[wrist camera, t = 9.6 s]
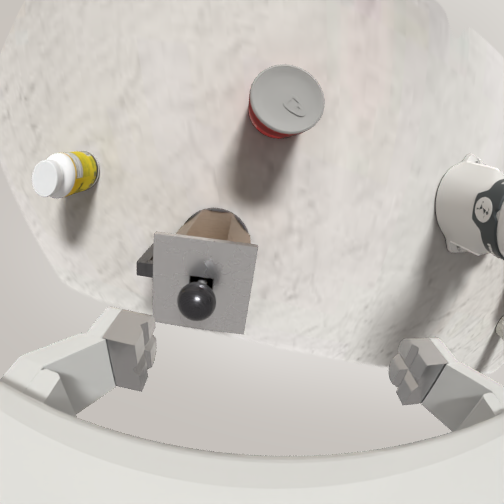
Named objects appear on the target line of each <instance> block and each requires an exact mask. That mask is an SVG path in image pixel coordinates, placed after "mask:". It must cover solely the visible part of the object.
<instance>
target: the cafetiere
mask: <svg viewBox="0 0 504 504" xmlns="http://www.w3.org/2000/svg"><path fill="white" fill-rule="evenodd" d="M257 251H258V245H256V244H251V243H250V235H249V233H248V230H247V228H246V226H245V225H244V223H243V222H242V221H241V219H240V218H239V217H237V216H236V215H235V214H233V213H232V212H230V211H227V210H224V209H220V208H208V209H203V210H201V211H198V212H197V213H195V214H193V215H192V216H191V217H190V218H189V219H188V220H187V221H186V223H185V224H184V225H183V226H182V227H181V228H180V229H179V230H178V232H177V233H176V234H172V233H165V232H157V231H156V232H155V233H154V243H153V244H152V246H151V247H150V248H149V249H148V250H147V251H146V252H145V253H144V254H143V255H142V257H141V258H140V259H139V260H138V261H137V275H140V276H146V277H152V278H153V316H154V318H155V322H160V323H165V324H171V325H178V326H184V327H191V328H197V329H205V330H212V331H220V332H228V333H236V334H244V329H245V323H246V317H247V311H248V305H249V299H250V293H251V287H252V281H253V275H254V269H255V263H256V257H257ZM199 277H204V278H208V282H207V285H208V286H209V287H210V288H211V289H212V290H213V292H214V294H215V297H216V307H215V310H214V312H213V313H212V315H211V316H210V317H208V318H207V319H205V320H202V321H192V320H189V319H187V318H186V317H184V316H183V315H182V314H181V312H180V311H179V309H178V305H177V297H178V294H179V292H180V290H181V289H182V288H183V287H184V286H185V285H187V284H189V283H192V282H198V279H199Z"/></svg>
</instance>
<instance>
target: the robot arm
mask: <svg viewBox="0 0 504 504" xmlns="http://www.w3.org/2000/svg"><path fill="white" fill-rule="evenodd" d="M475 162H476V163H475ZM436 216H437V221H438V224H439V226H440V229H441V230H442V232H443V234H444V235H445V238H446V244H447V249H448V251H450V252H452V253H458V252H471V253H473V254H475V255H478V256H480V255H481V254H488V253H492V254H493V255H494V256H496V257H498V258H501V259H503V260H504V173H503V172H502V171H500V170H499V169H498V168H495V167H491V166H487V165H486V164H485V163H484V162H483V161H482V160H480V159H479V158H478V157H477V156H476V155H475V154H472V153H469V154H467V156H466V157H465V158H464V160H463V161H462V162H461V163H459V164H457V165H455V166H453V167H452V168H450V169H449V170H448V171H447V173H446V174H445V175H444V177H443V179H442V181H441V183H440V185H439V188H438V192H437V197H436ZM154 329H155V318H154V316H153V315H148V314H143V313H138V312H133V311H129V310H123V309H120V308H115V307H107V308H106V309H105V310H104V312H103V313H102V314H101V315H100V316H99V318H98V319H97V320H96V322H95V323H94V324H93V325H92V326H91V328H90V329H89V330H88V331H87V333H86V334H84V333H80V334H77V335H75V336H72V337H69V338H67V339H64V340H62V341H59V342H56V343H54V344H51V345H48V346H46V347H43V348H40V349H38V350H35V351H32V352H30V353H27V354H24V355H22V356H20V357H19V358H18V359H17V360H16V361H15V363H14V364H13V365H12V366H11V367H10V369H9V370H8V371H7V372H6V373H5V374H4V376H3V377H2V378H1V379H0V504H504V386H503V385H501V384H499V383H498V382H496V381H494V380H492V379H490V378H489V377H487V376H485V375H483V374H482V373H480V372H478V371H476V370H475V369H473V368H471V367H469V366H468V365H466V364H464V363H462V362H458V361H457V359H456V358H455V357H454V356H453V354H452V353H451V352H450V351H449V349H448V348H447V347H446V346H445V344H444V343H443V342H442V341H441V340H440V338H437V337H428V338H407V339H403V340H402V341H401V342H400V344H399V346H398V352H399V353H398V354H397V355H396V356H395V357H393V359H392V361H391V363H390V365H389V378H390V380H391V382H392V384H394V385H395V386H396V387H398V388H397V391H396V393H397V395H398V396H399V398H400V400H401V402H402V405H409V404H418V403H422V405H423V406H424V407H425V408H426V409H427V410H428V411H430V412H431V413H432V414H433V415H434V416H435V417H436V418H438V419H439V420H440V421H441V422H442V423H443V424H444V425H445V426H447V427H448V428H449V429H450V430H451V431H452V432H451V433H447V434H444V435H440V436H437V437H433V438H429V439H425V440H421V441H417V442H413V443H408V444H404V445H399V446H394V447H388V448H382V449H376V450H369V451H362V452H354V453H344V454H332V455H316V456H261V455H260V456H259V455H244V454H232V453H222V452H214V451H205V450H199V449H193V448H186V447H180V446H175V445H170V444H165V443H160V442H156V441H152V440H147V439H143V438H140V437H136V436H132V435H128V434H125V433H121V432H118V431H114V430H111V429H108V428H105V427H102V426H99V425H96V424H93V423H90V422H88V421H85V420H82V419H79V418H77V416H76V414H77V413H79V412H80V411H82V410H83V409H85V408H86V407H88V406H89V405H91V404H92V403H94V402H95V401H96V400H98V399H99V398H101V397H102V396H104V395H105V394H107V393H108V392H110V391H111V390H112V389H114V388H115V387H116V386H119V387H124V388H128V389H132V390H137V391H142V390H143V387H144V385H145V383H146V380H147V377H148V373H147V369H149V368H151V367H152V365H153V363H154V360H155V355H156V338H155V337H154V335H153V332H154Z"/></svg>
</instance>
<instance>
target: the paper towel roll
mask: <svg viewBox="0 0 504 504" xmlns="http://www.w3.org/2000/svg"><path fill="white" fill-rule="evenodd" d="M496 333H497V334H498V335H499V336H500V337H501V338H502V339H503V340H504V316H503V317H502V318H501V319H500V321H499V322H498V324H497V327H496Z"/></svg>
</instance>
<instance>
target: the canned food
mask: <svg viewBox="0 0 504 504" xmlns="http://www.w3.org/2000/svg"><path fill="white" fill-rule="evenodd" d="M324 104H325V100H324V94H323V91H322V89H321V87H320V85H319V83H318V82H317V80H316V79H315V78H314V77H313V76H312V75H311V74H309V73H308V72H307V71H305V70H303V69H301V68H299V67H296V66H293V65H275V66H271V67H269V68H267V69H265V70H264V71H262V72H261V73H260V74H259V75H258V76H257V77H256V78H255V80H254V82H253V83H252V86H251V89H250V94H249V109H248V111H249V117H250V119H251V122H252V123H253V125H254V126H255V127H256V129H257V130H258V131H260V132H261V133H262V134H264V135H266V136H268V137H272V138H278V139H279V138H287V137H290V136H294V135H297V134H300V133H303V132H305V131H307V130H309V129H310V128H312V127H313V126H314V125H315V124H316V123H317V122H318V121H319V120H320V118H321V116H322V114H323V111H324Z"/></svg>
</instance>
